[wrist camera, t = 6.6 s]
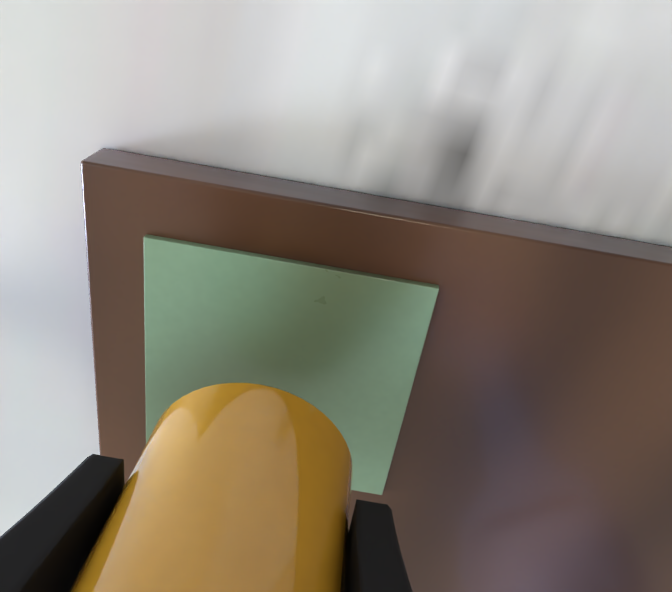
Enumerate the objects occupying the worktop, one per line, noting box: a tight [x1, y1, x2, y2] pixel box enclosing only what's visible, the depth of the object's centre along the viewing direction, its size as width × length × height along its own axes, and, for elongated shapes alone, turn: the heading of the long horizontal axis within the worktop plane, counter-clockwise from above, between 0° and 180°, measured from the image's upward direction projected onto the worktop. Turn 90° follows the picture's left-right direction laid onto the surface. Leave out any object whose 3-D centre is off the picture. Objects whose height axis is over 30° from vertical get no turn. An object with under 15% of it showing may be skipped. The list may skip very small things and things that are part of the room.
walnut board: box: [81, 148, 672, 592], centre depth 18 cm, size 22×17×1 cm
